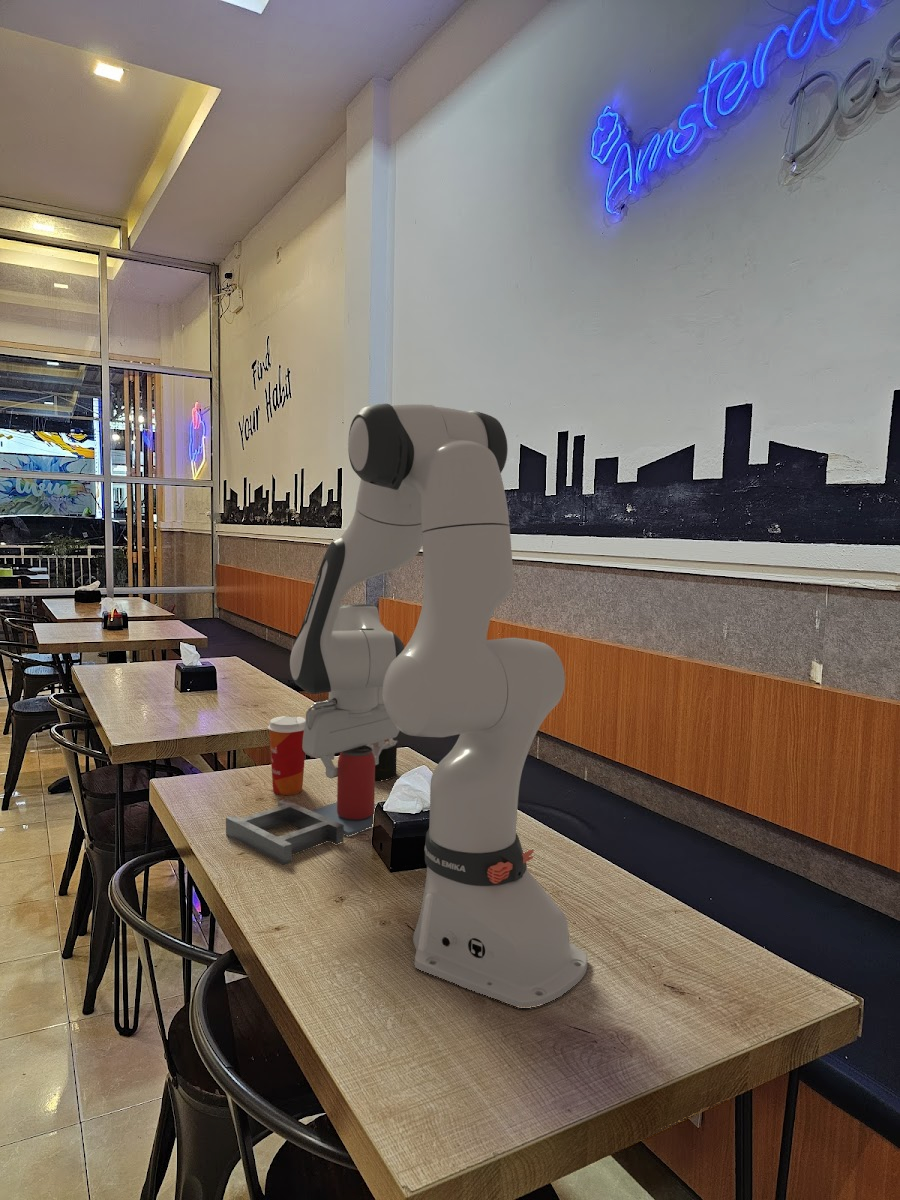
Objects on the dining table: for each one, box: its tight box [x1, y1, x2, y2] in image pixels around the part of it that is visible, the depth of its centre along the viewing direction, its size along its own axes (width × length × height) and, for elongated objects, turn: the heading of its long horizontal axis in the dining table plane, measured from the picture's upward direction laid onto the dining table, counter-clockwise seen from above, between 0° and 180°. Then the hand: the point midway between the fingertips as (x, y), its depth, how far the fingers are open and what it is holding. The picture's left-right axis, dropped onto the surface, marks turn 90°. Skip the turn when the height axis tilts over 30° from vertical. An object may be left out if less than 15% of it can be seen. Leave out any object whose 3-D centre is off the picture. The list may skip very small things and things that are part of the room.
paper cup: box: [267, 715, 306, 796], centre depth 151 cm, size 8×8×14 cm
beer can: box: [336, 745, 376, 820], centre depth 137 cm, size 7×7×12 cm
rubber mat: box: [310, 801, 378, 836], centre depth 139 cm, size 12×12×1 cm
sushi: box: [366, 738, 398, 781], centre depth 161 cm, size 8×8×8 cm
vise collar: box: [225, 799, 345, 866], centre depth 129 cm, size 16×12×3 cm
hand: (352, 770), depth 138 cm, fingers open, 8 cm apart
